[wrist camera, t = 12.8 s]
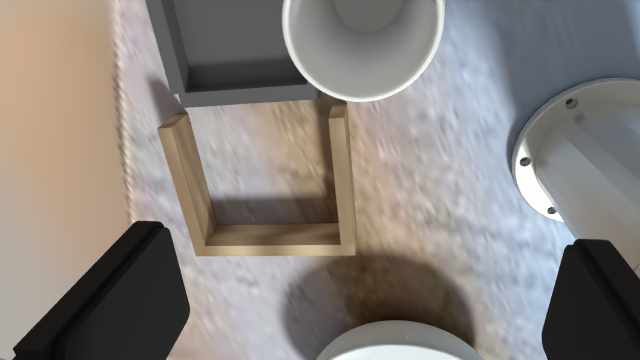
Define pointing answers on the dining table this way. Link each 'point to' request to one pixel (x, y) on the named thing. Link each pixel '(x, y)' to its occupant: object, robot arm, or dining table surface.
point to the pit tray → (226, 52)
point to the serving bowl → (398, 343)
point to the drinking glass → (362, 43)
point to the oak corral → (262, 236)
